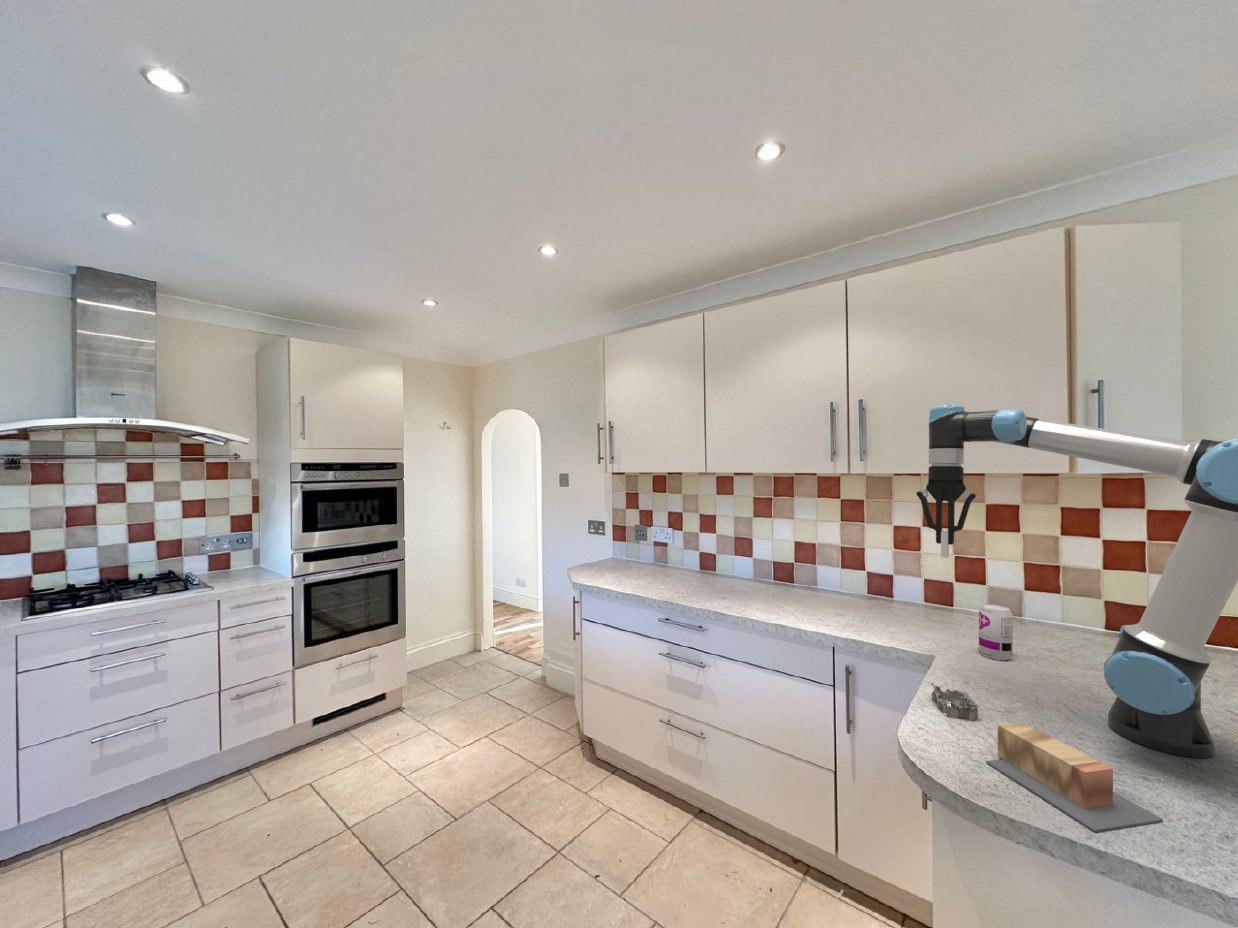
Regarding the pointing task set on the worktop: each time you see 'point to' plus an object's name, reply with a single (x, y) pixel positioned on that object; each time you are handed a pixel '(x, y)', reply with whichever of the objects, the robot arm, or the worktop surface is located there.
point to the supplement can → (995, 632)
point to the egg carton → (955, 703)
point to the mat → (1091, 818)
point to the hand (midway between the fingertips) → (944, 556)
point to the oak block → (1056, 765)
